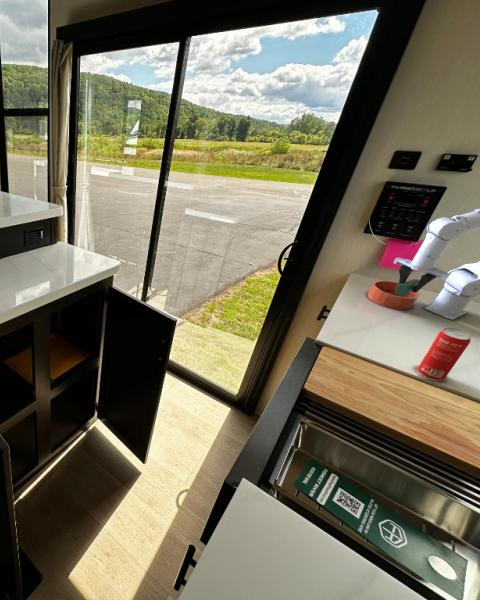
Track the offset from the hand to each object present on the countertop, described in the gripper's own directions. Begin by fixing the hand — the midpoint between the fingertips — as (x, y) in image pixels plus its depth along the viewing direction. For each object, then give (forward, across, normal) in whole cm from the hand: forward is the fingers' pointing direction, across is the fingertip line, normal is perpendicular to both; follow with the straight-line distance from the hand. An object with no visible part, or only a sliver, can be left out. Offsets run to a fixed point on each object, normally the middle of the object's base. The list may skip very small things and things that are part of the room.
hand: (407, 288), depth 114 cm
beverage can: (+9, +22, -31) cm, 39 cm away
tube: (+1, 0, 0) cm, 1 cm away
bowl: (+8, -4, +4) cm, 10 cm away
